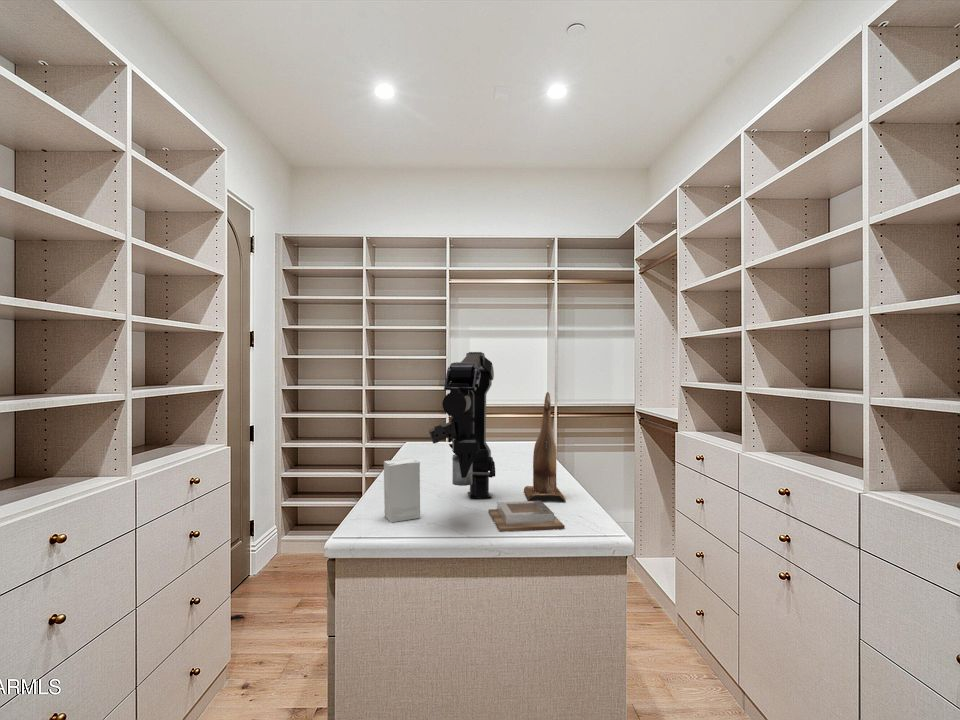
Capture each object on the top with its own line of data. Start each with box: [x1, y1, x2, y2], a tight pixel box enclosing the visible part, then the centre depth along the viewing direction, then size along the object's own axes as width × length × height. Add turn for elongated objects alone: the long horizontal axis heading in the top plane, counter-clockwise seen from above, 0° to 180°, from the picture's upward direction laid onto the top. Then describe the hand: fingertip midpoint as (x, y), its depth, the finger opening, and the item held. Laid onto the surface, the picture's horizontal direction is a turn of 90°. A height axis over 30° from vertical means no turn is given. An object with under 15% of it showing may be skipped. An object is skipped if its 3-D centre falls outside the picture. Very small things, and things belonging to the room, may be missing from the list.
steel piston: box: [451, 453, 472, 487], centre depth 125 cm, size 5×5×7 cm
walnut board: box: [488, 508, 566, 533], centre depth 127 cm, size 16×16×1 cm
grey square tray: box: [496, 500, 555, 525], centre depth 127 cm, size 12×12×2 cm
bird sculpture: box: [523, 391, 567, 503], centre depth 149 cm, size 11×12×32 cm
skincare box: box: [383, 457, 421, 524], centre depth 128 cm, size 8×6×15 cm
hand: (462, 475), depth 125 cm, fingers closed on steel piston, 5 cm apart
